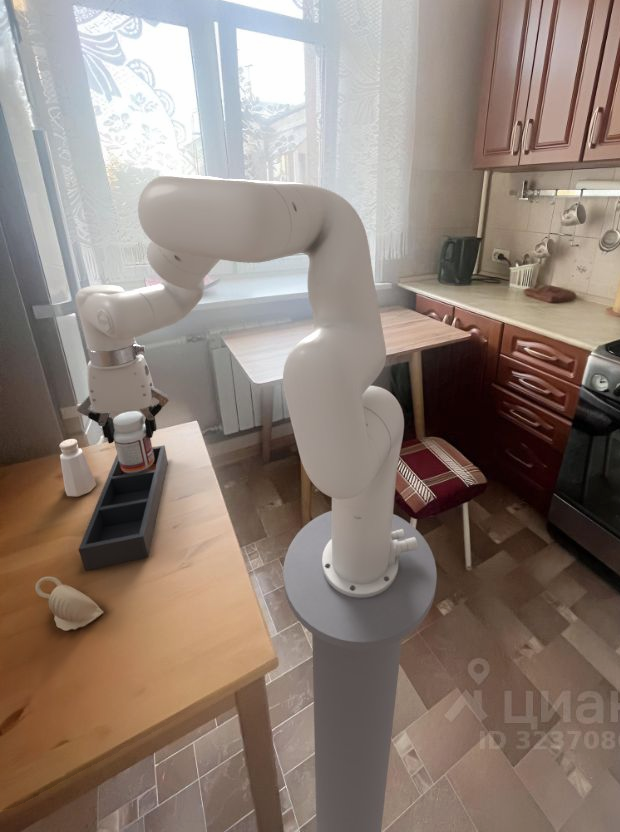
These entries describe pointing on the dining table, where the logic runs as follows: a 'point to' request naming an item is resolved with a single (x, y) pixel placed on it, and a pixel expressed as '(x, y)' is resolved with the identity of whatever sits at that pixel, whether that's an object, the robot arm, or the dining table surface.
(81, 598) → the decorative ornament
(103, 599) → the dining table surface
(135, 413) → the pill bottle
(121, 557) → the compartment tray
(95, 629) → the dining table surface
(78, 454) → the salt shaker
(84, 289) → the robot arm
